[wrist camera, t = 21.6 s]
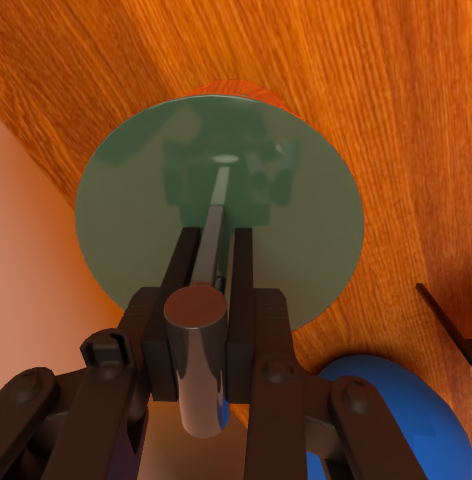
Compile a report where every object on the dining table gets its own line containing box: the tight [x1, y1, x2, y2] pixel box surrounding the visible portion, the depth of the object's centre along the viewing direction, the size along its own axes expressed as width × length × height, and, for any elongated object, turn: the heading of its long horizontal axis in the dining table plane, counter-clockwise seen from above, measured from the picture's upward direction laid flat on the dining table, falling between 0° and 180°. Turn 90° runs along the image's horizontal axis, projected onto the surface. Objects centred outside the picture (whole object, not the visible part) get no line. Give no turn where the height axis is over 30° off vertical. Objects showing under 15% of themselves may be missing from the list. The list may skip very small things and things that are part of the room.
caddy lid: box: [75, 92, 364, 439], centre depth 12 cm, size 14×14×8 cm
